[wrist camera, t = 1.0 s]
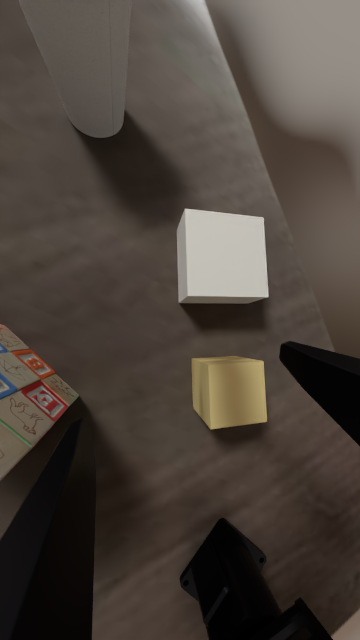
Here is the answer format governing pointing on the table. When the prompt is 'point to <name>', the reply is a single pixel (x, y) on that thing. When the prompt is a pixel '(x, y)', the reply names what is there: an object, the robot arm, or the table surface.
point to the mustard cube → (229, 391)
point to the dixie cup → (85, 57)
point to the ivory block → (221, 258)
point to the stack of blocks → (26, 399)
